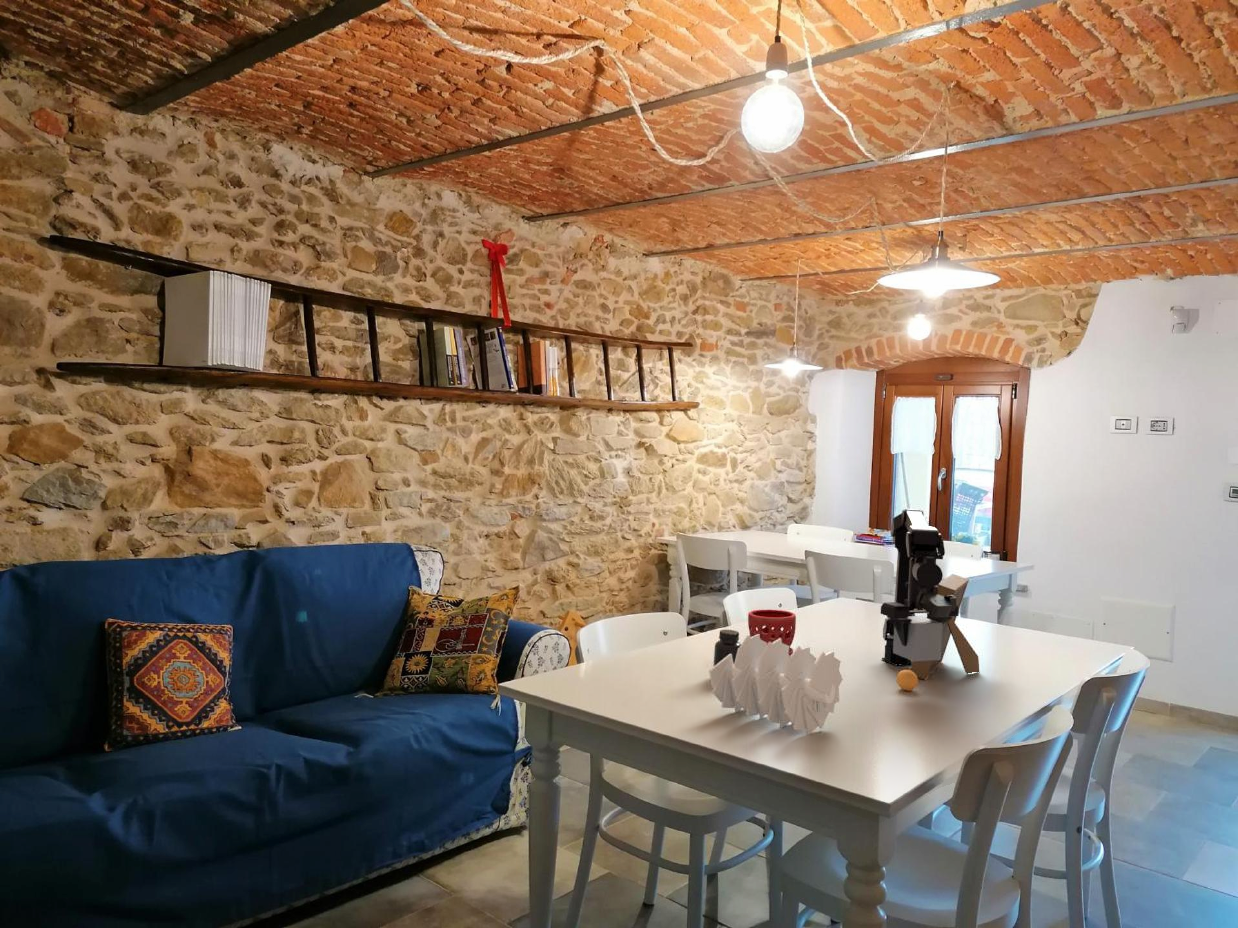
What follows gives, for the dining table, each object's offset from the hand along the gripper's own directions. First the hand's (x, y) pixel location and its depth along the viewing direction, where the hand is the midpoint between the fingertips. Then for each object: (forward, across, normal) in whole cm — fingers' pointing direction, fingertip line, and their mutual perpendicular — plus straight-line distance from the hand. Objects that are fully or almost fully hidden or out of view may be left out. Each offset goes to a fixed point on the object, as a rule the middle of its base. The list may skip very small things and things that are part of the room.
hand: (918, 644), depth 204 cm
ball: (+10, 0, +3) cm, 10 cm away
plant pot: (+12, -17, +40) cm, 45 cm away
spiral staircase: (+12, -44, -10) cm, 47 cm away
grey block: (+3, 0, 0) cm, 3 cm away
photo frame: (+12, +21, +14) cm, 28 cm away
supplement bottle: (+12, -40, +21) cm, 47 cm away
